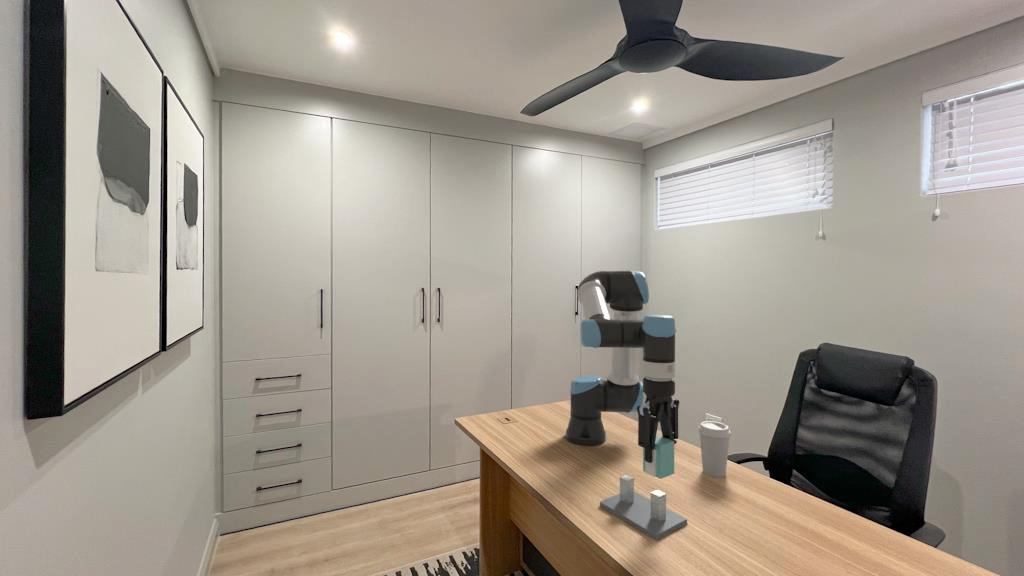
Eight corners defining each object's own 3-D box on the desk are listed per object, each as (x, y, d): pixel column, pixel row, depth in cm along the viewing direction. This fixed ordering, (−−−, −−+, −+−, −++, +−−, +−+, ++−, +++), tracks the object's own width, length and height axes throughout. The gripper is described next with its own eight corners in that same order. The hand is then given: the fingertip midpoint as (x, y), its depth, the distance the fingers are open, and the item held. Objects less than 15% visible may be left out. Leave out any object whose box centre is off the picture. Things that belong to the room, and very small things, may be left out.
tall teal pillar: (643, 471, 106) (643, 439, 106) (656, 466, 109) (656, 434, 109) (660, 478, 101) (660, 445, 101) (674, 473, 104) (674, 441, 104)
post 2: (650, 518, 106) (650, 492, 106) (657, 514, 107) (657, 489, 107) (659, 523, 104) (659, 496, 104) (665, 519, 105) (666, 493, 105)
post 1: (619, 500, 114) (619, 476, 114) (626, 498, 116) (626, 474, 115) (627, 505, 112) (627, 480, 112) (633, 502, 113) (633, 478, 113)
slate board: (599, 506, 114) (599, 501, 114) (630, 493, 120) (630, 489, 120) (656, 540, 99) (656, 535, 99) (687, 523, 105) (687, 518, 105)
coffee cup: (735, 481, 128) (735, 431, 127) (701, 478, 129) (701, 429, 129) (726, 467, 137) (726, 421, 137) (694, 465, 139) (694, 419, 139)
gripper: (647, 385, 97) (646, 487, 97) (694, 376, 107) (694, 468, 107) (621, 379, 103) (621, 475, 103) (668, 371, 113) (668, 457, 113)
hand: (658, 471), depth 105 cm, fingers closed on tall teal pillar, 5 cm apart
